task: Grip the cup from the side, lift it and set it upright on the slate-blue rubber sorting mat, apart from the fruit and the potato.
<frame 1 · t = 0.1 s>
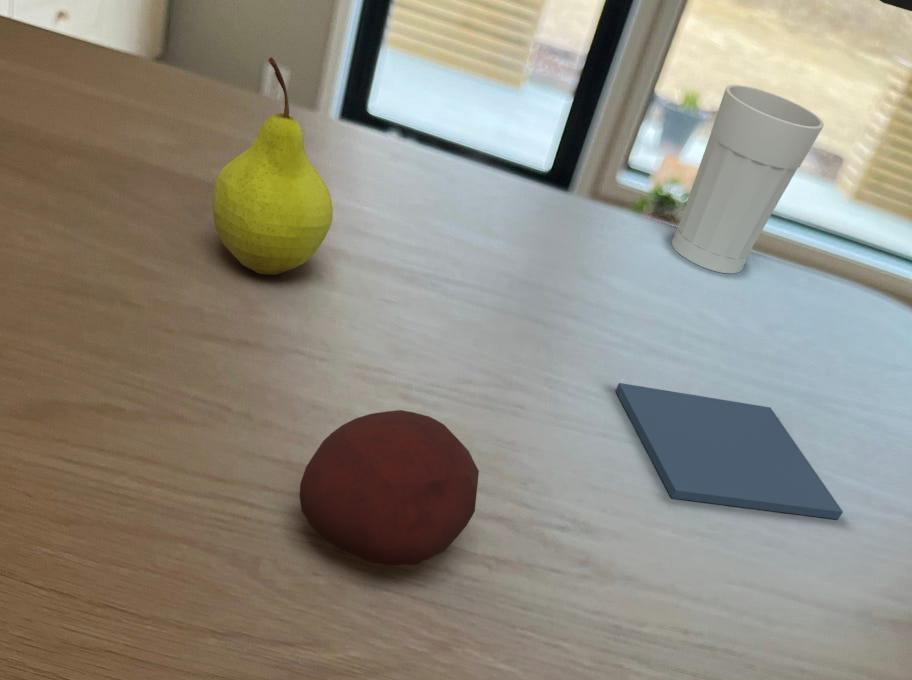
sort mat: (722, 453, 63), on the table
potato: (377, 545, 48), on the table
cup: (706, 257, 88), on the table
fruit: (263, 269, 65), on the table
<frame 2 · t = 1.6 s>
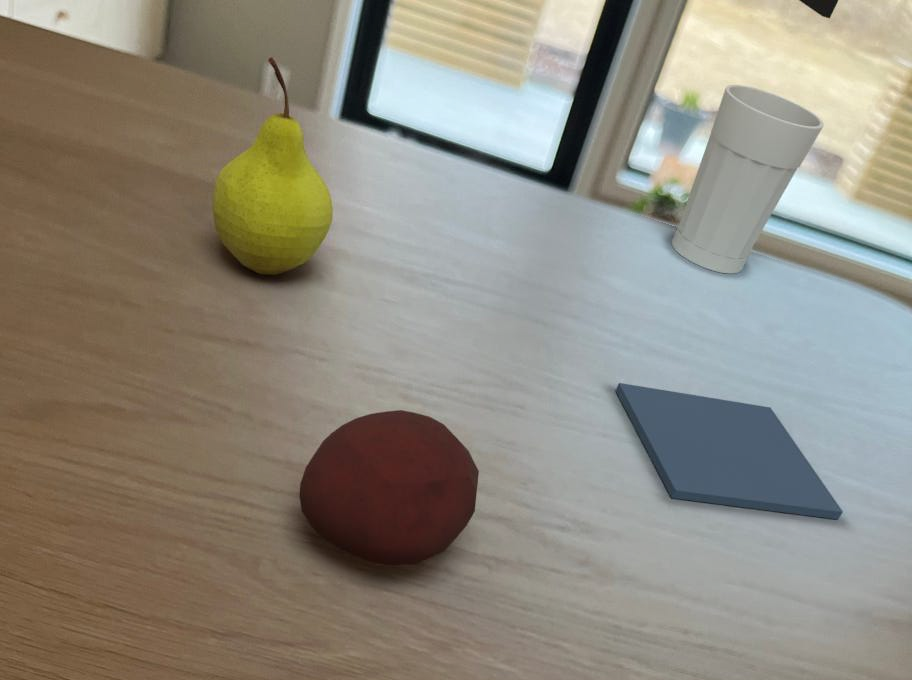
nothing on the table moved.
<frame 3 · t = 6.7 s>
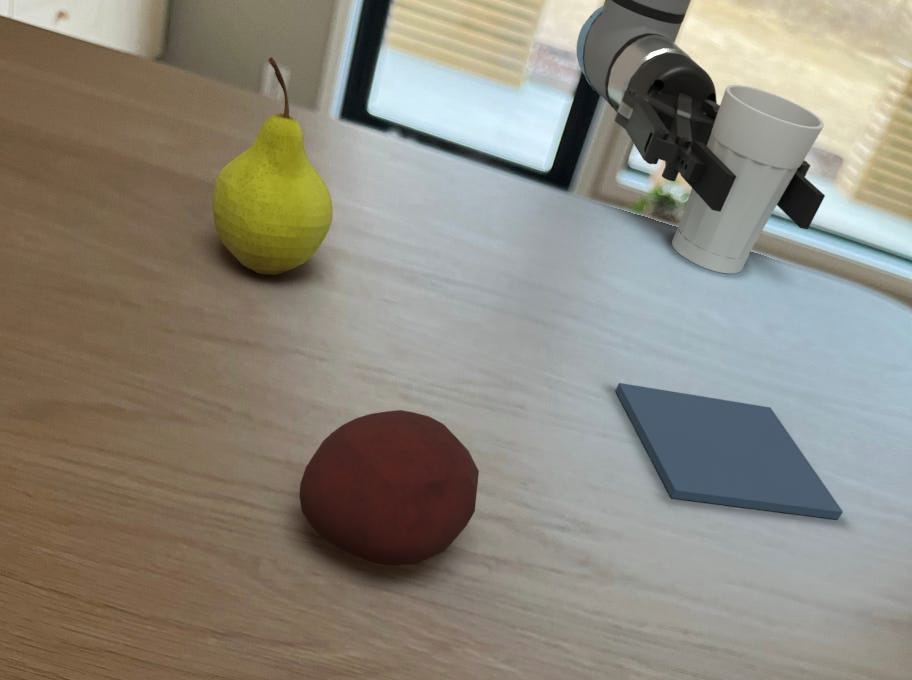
hand: (768, 202, 80), 7 cm above the table, tool horizontal, fingers closed on cup, 7 cm apart
cup: (706, 257, 88), on the table, touching gripper
everything else where it was.
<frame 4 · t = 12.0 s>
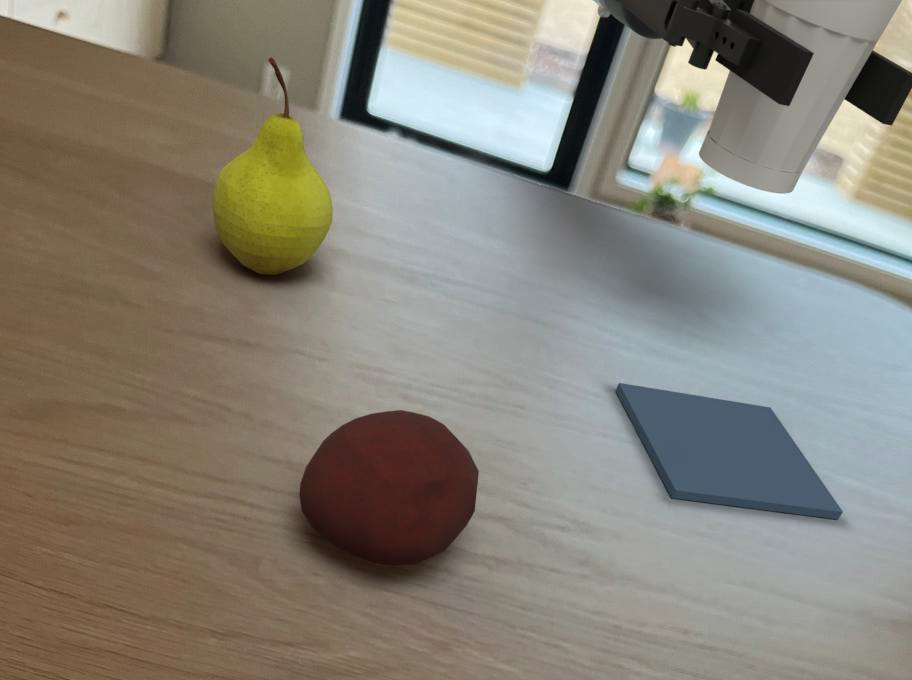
hand: (849, 89, 58), 18 cm above the table, tool horizontal, fingers closed on cup, 7 cm apart
cup: (744, 173, 65), point 12 cm above the table, touching gripper
everything else where it was.
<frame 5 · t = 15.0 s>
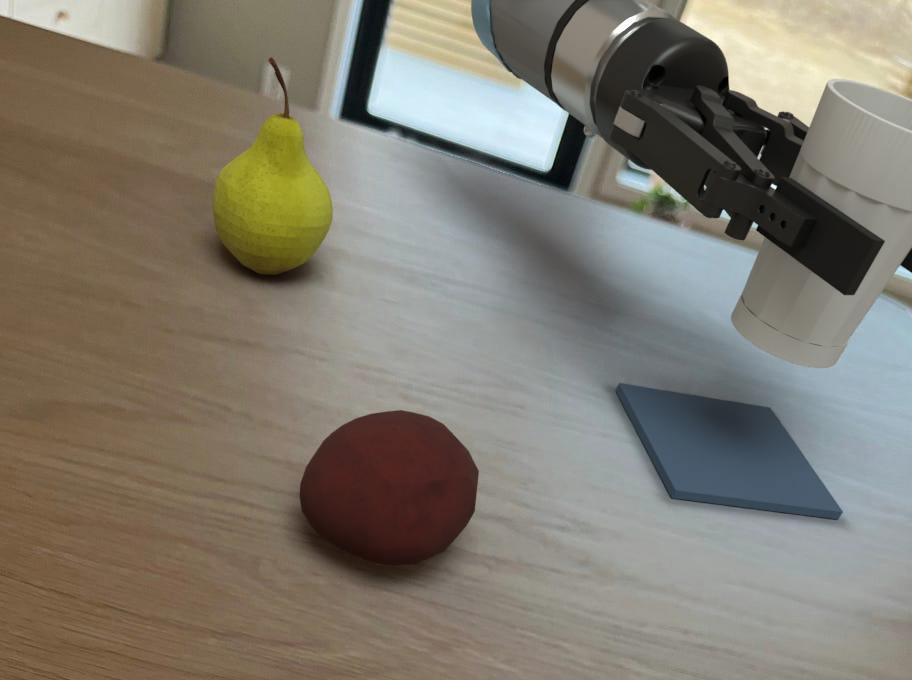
cup: (782, 340, 58), point 8 cm above the table, touching gripper
everything else where it was.
when the fingers open (7 cm above the table, at t = 17.4 s): cup stays where it is, resting on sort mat.
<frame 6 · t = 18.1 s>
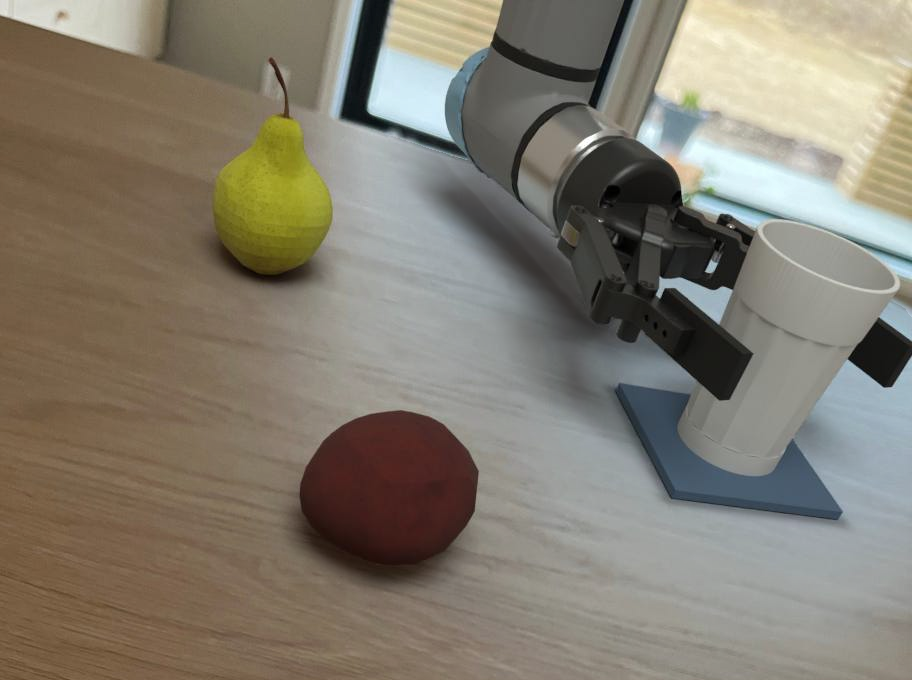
hand: (824, 372, 56), 8 cm above the table, tool horizontal, fingers open, 13 cm apart
cup: (725, 447, 63), resting on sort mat
everything else where it was.
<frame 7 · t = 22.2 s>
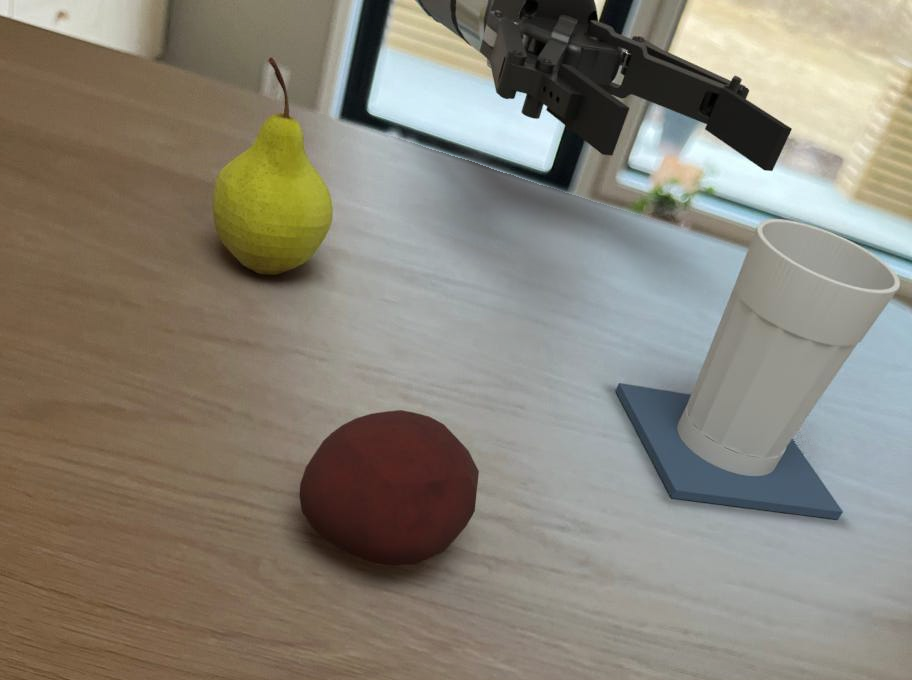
hand: (701, 141, 64), 13 cm above the table, tool horizontal, fingers open, 13 cm apart
nothing on the table moved.
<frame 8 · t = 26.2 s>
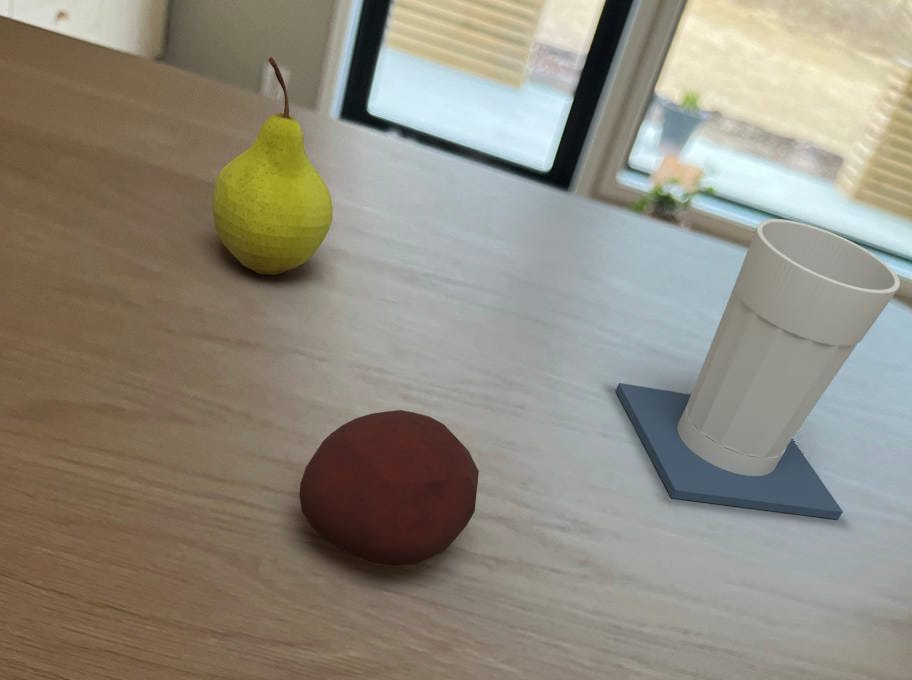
nothing on the table moved.
at the end: cup inside the target area on the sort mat (0.0 cm from its centre), point 0.4 cm above the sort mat's base; cup tilted 0°; the gripper is holding nothing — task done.
